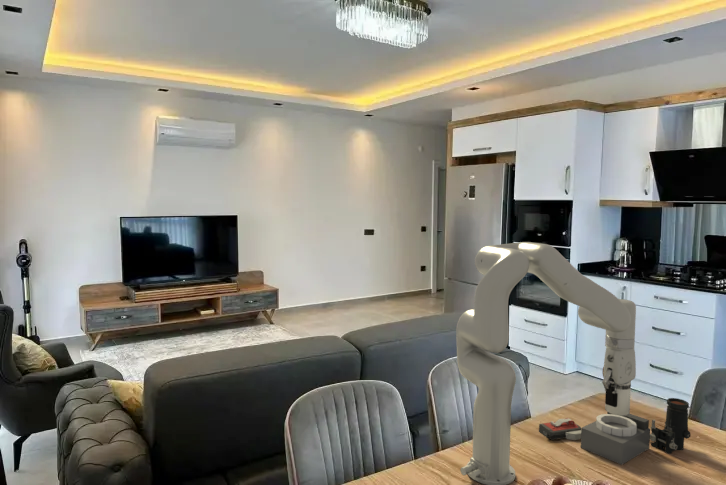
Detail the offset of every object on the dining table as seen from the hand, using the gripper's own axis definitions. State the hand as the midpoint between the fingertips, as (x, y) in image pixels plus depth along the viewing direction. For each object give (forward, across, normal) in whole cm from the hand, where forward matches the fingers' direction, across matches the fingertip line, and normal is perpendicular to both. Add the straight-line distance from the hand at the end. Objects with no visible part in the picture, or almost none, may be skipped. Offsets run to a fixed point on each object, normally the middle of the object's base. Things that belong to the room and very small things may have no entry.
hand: (617, 402), depth 145 cm
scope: (+14, +14, -10) cm, 22 cm away
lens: (+3, 0, 0) cm, 3 cm away
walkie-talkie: (+14, -2, +13) cm, 20 cm away
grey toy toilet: (+14, 0, 0) cm, 14 cm away
